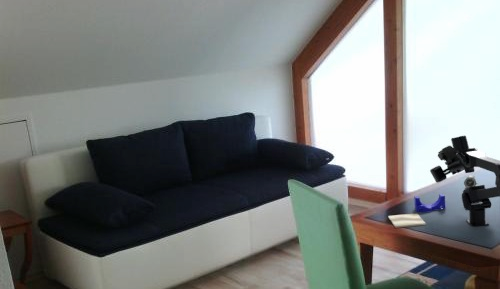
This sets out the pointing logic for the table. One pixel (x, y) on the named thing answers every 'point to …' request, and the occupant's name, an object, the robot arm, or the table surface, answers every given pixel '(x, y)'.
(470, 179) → the watch
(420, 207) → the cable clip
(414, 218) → the pad
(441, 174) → the robot arm
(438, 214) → the table surface
